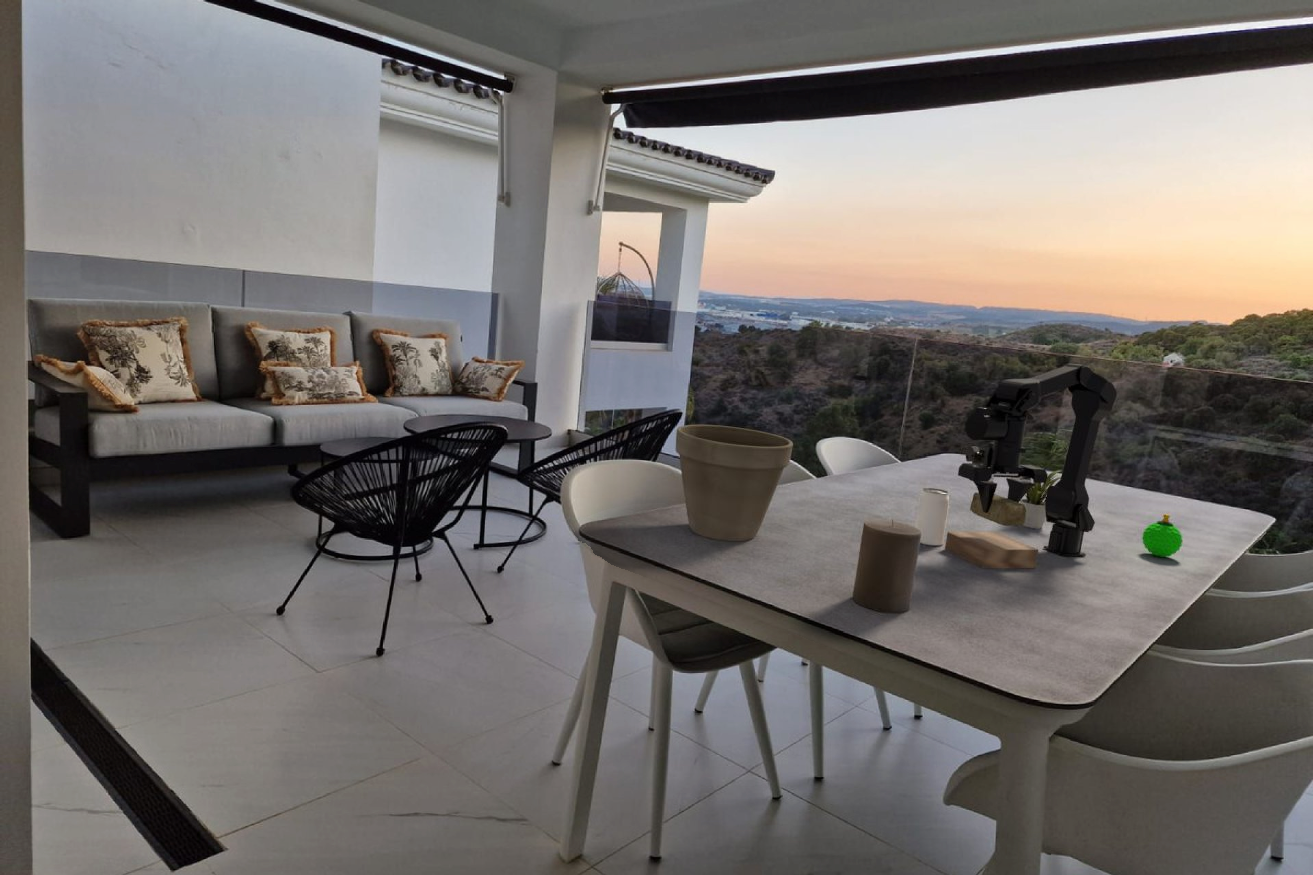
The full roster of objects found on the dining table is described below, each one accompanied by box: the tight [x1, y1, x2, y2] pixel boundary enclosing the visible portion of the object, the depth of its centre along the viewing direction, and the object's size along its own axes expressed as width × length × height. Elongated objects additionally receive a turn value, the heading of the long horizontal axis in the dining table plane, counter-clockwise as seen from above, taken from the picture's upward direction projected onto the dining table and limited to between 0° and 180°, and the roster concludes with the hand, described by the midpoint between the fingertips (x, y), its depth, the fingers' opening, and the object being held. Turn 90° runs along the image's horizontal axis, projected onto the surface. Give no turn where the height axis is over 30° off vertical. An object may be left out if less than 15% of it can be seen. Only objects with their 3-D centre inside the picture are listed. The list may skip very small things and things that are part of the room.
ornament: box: [1141, 513, 1184, 558], centre depth 195 cm, size 8×8×10 cm
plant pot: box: [675, 424, 794, 542], centre depth 179 cm, size 25×25×22 cm
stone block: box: [969, 492, 1026, 527], centre depth 178 cm, size 6×12×5 cm, turn 19°
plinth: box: [944, 531, 1039, 569], centre depth 180 cm, size 13×13×4 cm
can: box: [914, 487, 950, 547], centre depth 188 cm, size 6×6×12 cm
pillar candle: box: [852, 518, 921, 614], centre depth 143 cm, size 10×10×15 cm
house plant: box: [1019, 465, 1061, 530], centre depth 214 cm, size 14×14×16 cm
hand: (996, 512), depth 178 cm, fingers closed on stone block, 6 cm apart
